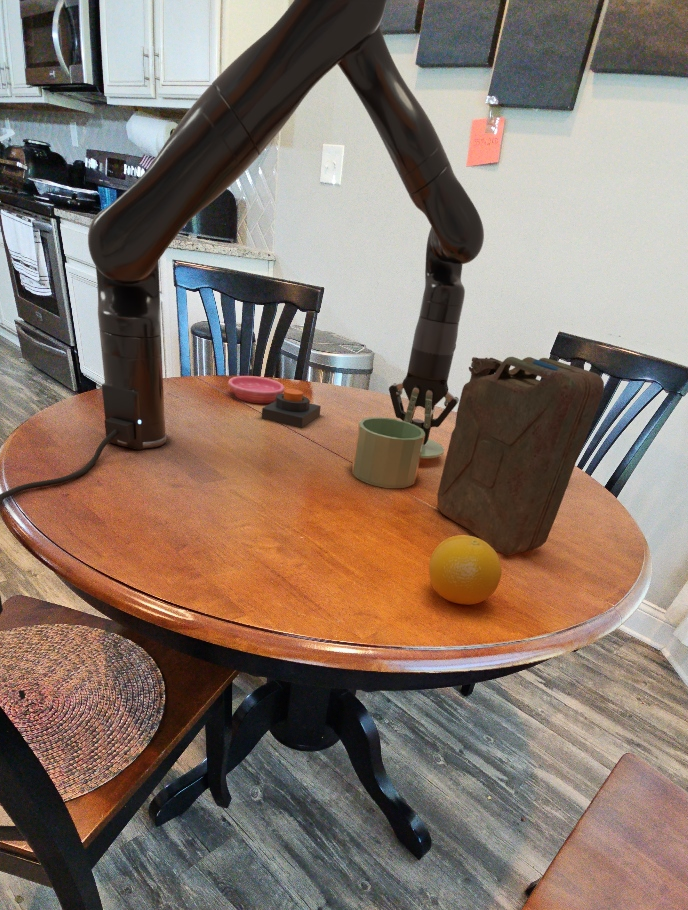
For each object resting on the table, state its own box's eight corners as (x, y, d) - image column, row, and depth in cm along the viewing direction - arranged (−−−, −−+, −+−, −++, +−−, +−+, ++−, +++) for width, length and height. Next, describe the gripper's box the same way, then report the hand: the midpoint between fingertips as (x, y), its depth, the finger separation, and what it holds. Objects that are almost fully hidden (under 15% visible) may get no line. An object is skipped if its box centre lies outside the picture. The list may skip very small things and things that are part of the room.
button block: (301, 428, 120) (303, 408, 118) (261, 418, 122) (262, 398, 120) (319, 416, 129) (321, 397, 127) (282, 407, 131) (283, 388, 128)
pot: (406, 493, 100) (417, 444, 95) (343, 477, 102) (350, 428, 97) (420, 473, 109) (430, 427, 104) (362, 458, 111) (369, 412, 106)
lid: (436, 466, 109) (443, 436, 106) (374, 451, 111) (379, 421, 108) (447, 448, 119) (454, 420, 116) (390, 434, 121) (395, 406, 118)
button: (298, 404, 121) (298, 395, 120) (280, 399, 122) (280, 391, 121) (305, 400, 125) (305, 391, 124) (287, 396, 125) (288, 387, 124)
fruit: (477, 581, 78) (495, 527, 74) (500, 616, 72) (520, 559, 67) (415, 579, 77) (428, 523, 72) (432, 614, 70) (448, 556, 66)
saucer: (286, 408, 130) (287, 393, 129) (229, 403, 128) (229, 388, 126) (280, 392, 140) (281, 378, 138) (227, 387, 137) (227, 373, 135)
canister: (547, 553, 88) (615, 378, 74) (508, 562, 84) (571, 378, 69) (465, 502, 100) (510, 342, 86) (428, 507, 96) (467, 340, 82)
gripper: (390, 342, 103) (374, 441, 113) (468, 358, 100) (444, 458, 110) (400, 337, 108) (384, 431, 119) (474, 352, 106) (451, 447, 116)
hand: (413, 443), depth 114 cm, fingers closed on lid, 2 cm apart
